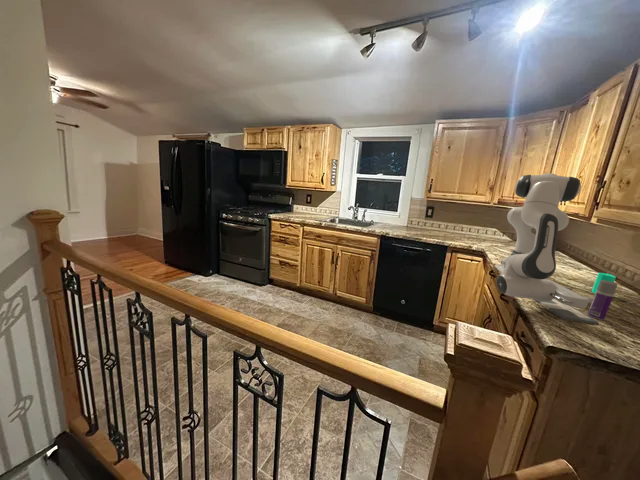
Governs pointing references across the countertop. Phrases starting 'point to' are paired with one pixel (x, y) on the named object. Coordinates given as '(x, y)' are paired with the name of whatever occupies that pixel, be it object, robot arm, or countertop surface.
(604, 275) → the candle
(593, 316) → the container
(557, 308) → the letter board
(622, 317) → the countertop surface
